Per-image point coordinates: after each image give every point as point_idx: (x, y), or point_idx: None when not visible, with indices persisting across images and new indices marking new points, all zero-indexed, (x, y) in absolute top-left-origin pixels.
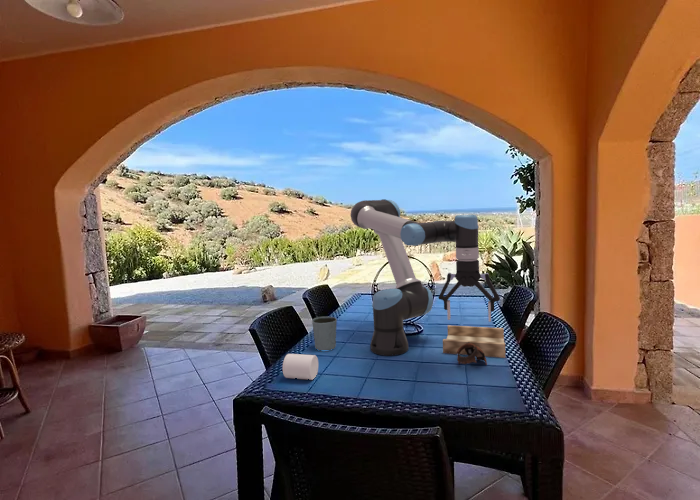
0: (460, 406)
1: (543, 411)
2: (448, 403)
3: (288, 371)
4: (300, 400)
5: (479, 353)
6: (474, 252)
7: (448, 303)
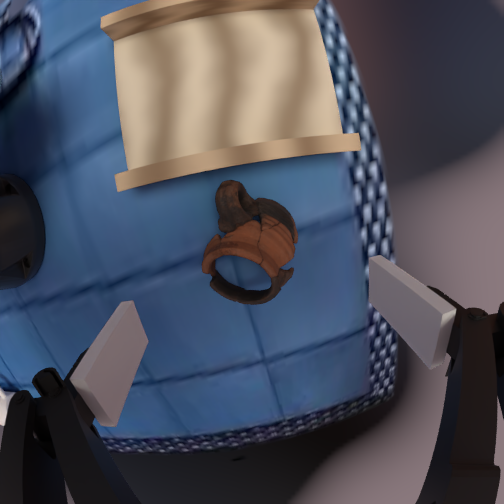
0: (270, 422)
1: (392, 379)
2: (248, 423)
3: None
4: None
5: (286, 276)
6: None
7: (113, 415)
